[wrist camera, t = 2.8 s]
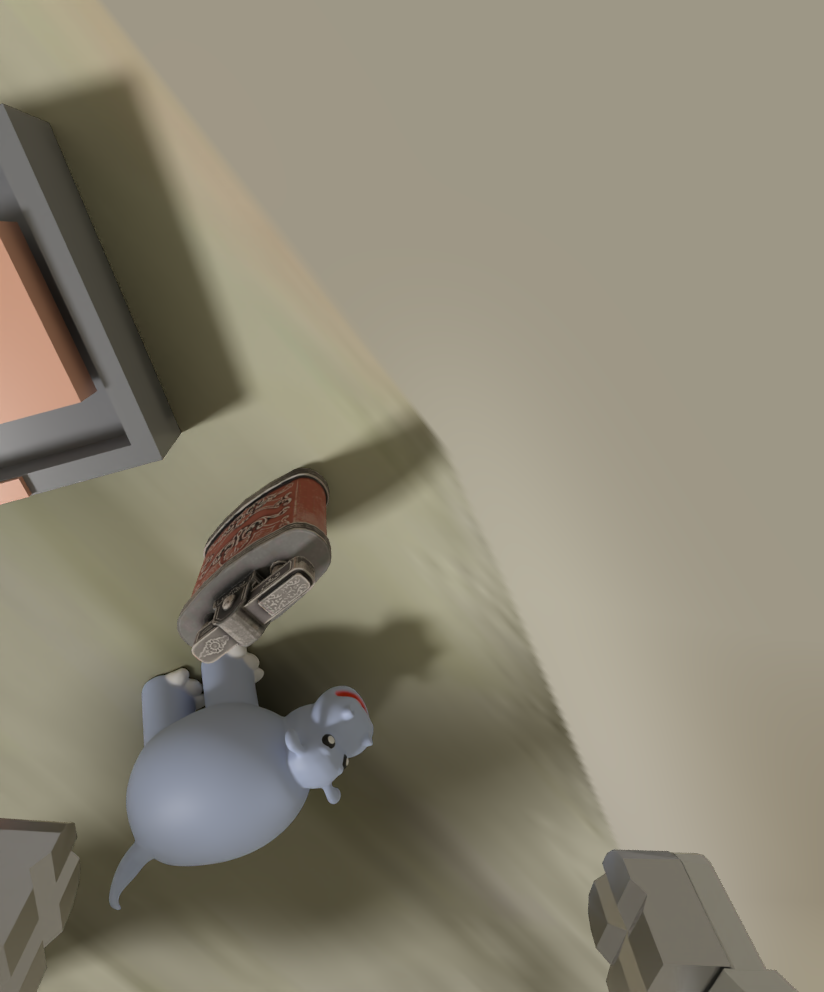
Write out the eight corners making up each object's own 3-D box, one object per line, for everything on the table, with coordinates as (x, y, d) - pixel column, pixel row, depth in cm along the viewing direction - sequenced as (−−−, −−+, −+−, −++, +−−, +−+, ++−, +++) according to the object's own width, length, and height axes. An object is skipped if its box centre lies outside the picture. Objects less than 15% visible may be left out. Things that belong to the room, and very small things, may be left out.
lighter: (235, 581, 35) (204, 704, 26) (191, 542, 33) (143, 658, 24) (342, 497, 33) (350, 595, 24) (301, 454, 32) (294, 540, 23)
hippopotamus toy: (395, 717, 40) (415, 847, 32) (197, 805, 41) (165, 957, 32) (321, 597, 36) (322, 712, 27) (100, 699, 37) (33, 842, 28)
